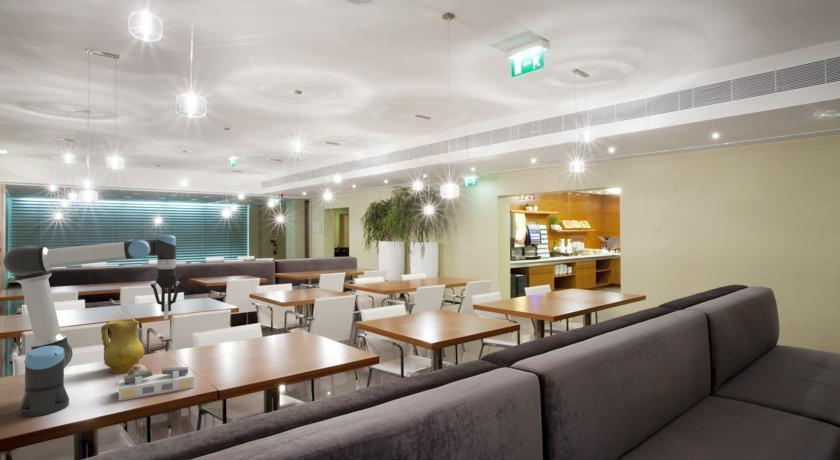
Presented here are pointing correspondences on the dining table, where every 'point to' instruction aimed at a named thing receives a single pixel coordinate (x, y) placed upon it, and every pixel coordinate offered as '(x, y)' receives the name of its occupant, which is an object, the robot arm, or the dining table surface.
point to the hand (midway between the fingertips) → (166, 318)
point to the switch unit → (155, 385)
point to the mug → (136, 369)
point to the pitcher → (121, 345)
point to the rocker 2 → (170, 370)
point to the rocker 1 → (132, 377)
